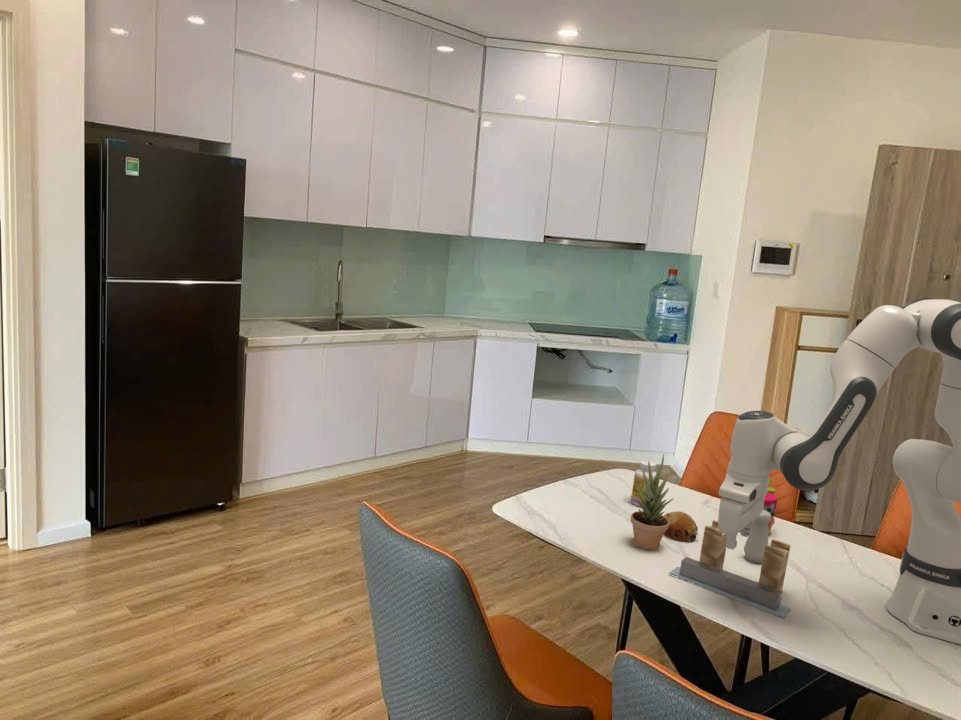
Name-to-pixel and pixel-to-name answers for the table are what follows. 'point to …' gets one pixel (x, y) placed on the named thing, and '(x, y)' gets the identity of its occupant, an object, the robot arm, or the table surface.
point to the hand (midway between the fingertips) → (738, 541)
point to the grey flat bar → (779, 612)
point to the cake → (770, 505)
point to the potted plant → (650, 512)
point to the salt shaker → (758, 538)
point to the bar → (731, 583)
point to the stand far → (713, 546)
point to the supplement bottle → (641, 480)
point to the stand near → (774, 564)
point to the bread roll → (681, 526)
